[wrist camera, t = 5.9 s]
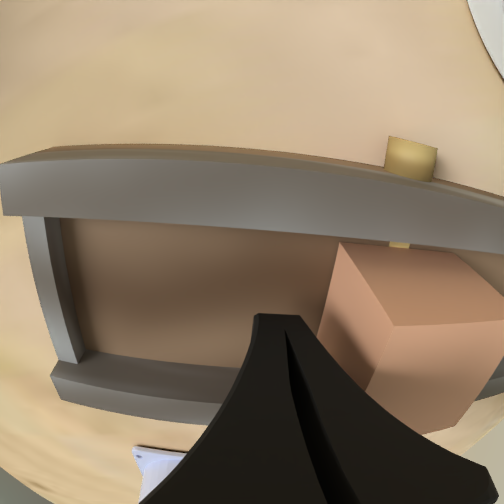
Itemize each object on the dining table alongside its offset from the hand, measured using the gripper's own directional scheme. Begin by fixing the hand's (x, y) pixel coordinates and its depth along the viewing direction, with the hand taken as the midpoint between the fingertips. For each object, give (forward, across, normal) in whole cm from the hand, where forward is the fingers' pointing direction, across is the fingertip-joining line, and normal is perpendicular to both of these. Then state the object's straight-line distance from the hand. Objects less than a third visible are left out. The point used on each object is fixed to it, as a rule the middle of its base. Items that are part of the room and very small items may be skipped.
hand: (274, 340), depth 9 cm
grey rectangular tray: (+4, -4, 0) cm, 6 cm away
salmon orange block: (+2, -5, 0) cm, 5 cm away
